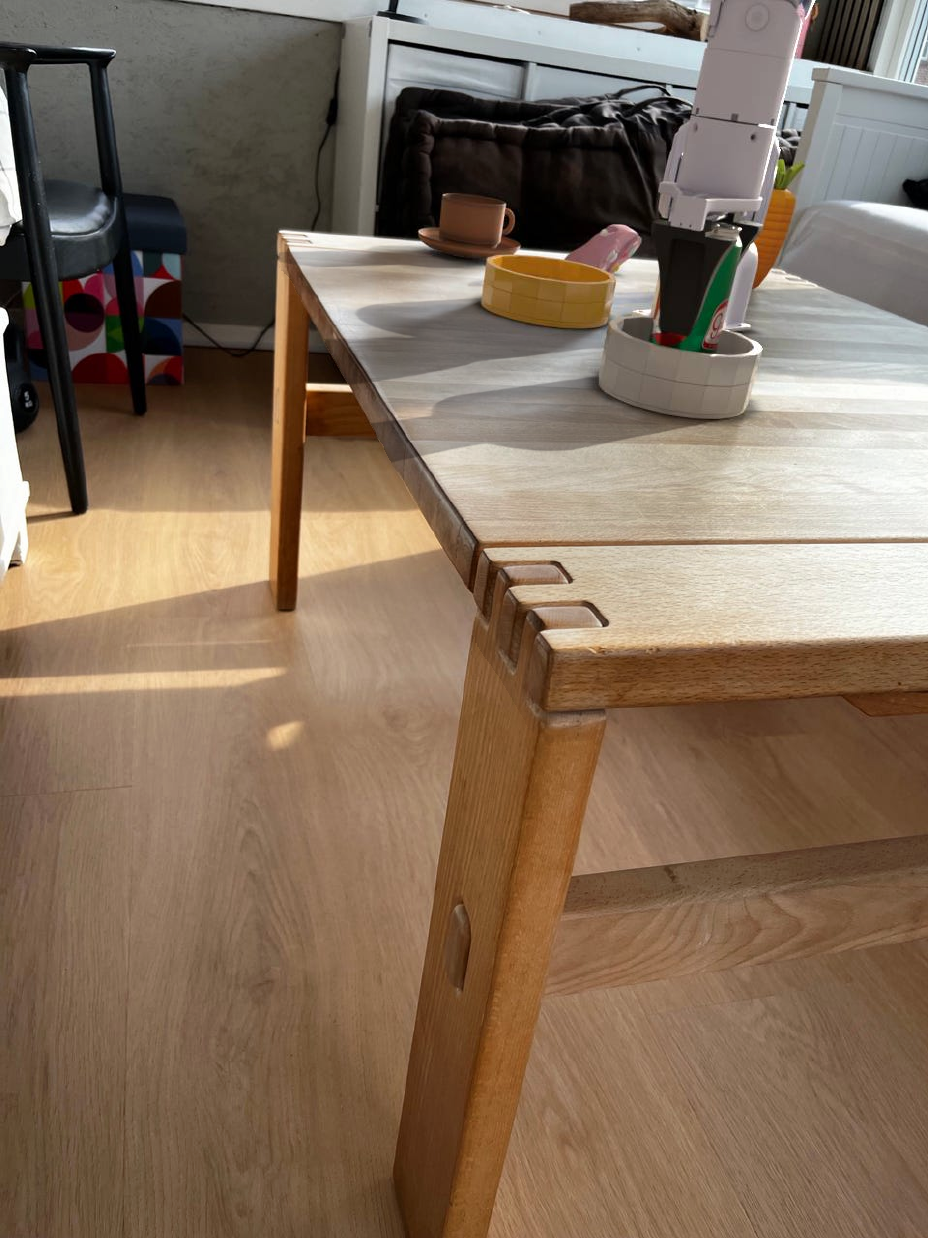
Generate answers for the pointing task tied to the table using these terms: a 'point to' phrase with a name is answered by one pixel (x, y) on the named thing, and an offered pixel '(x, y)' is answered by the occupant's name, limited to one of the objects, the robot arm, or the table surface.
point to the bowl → (547, 291)
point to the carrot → (775, 221)
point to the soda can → (706, 304)
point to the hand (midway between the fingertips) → (687, 325)
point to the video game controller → (608, 248)
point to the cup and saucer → (471, 228)
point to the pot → (677, 372)
